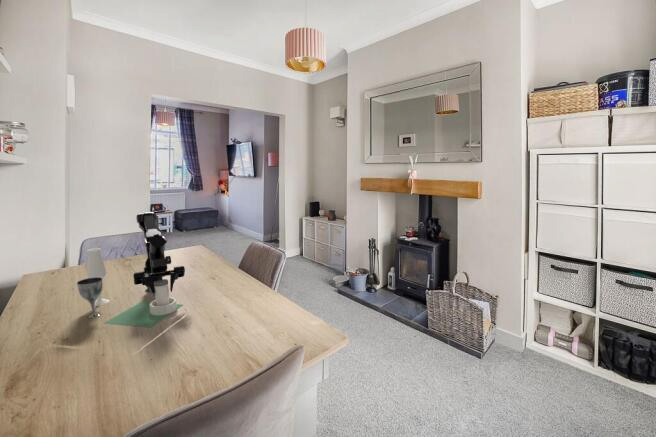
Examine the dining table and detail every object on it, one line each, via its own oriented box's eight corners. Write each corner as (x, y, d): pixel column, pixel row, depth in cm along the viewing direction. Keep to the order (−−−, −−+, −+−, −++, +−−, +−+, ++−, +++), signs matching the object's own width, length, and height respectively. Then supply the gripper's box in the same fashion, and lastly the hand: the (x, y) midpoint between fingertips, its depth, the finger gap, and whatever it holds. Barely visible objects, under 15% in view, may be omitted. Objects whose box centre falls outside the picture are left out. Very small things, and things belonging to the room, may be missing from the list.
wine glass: (90, 312, 131) (85, 277, 129) (110, 312, 132) (106, 276, 129) (76, 322, 123) (71, 284, 121) (98, 321, 124) (94, 284, 122)
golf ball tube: (154, 312, 129) (151, 283, 128) (158, 307, 134) (155, 280, 133) (168, 311, 130) (165, 282, 129) (172, 306, 135) (169, 278, 134)
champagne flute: (90, 307, 136) (83, 252, 132) (91, 301, 142) (84, 248, 138) (109, 303, 140) (103, 250, 136) (109, 298, 145) (103, 246, 141)
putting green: (103, 324, 121) (102, 314, 120) (142, 302, 141) (141, 293, 140) (150, 329, 118) (149, 318, 117) (183, 306, 137) (183, 296, 137)
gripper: (131, 253, 127) (134, 289, 119) (182, 247, 137) (188, 279, 129) (132, 267, 134) (136, 301, 127) (181, 260, 144) (187, 291, 137)
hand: (162, 293), depth 130 cm, fingers open, 6 cm apart
